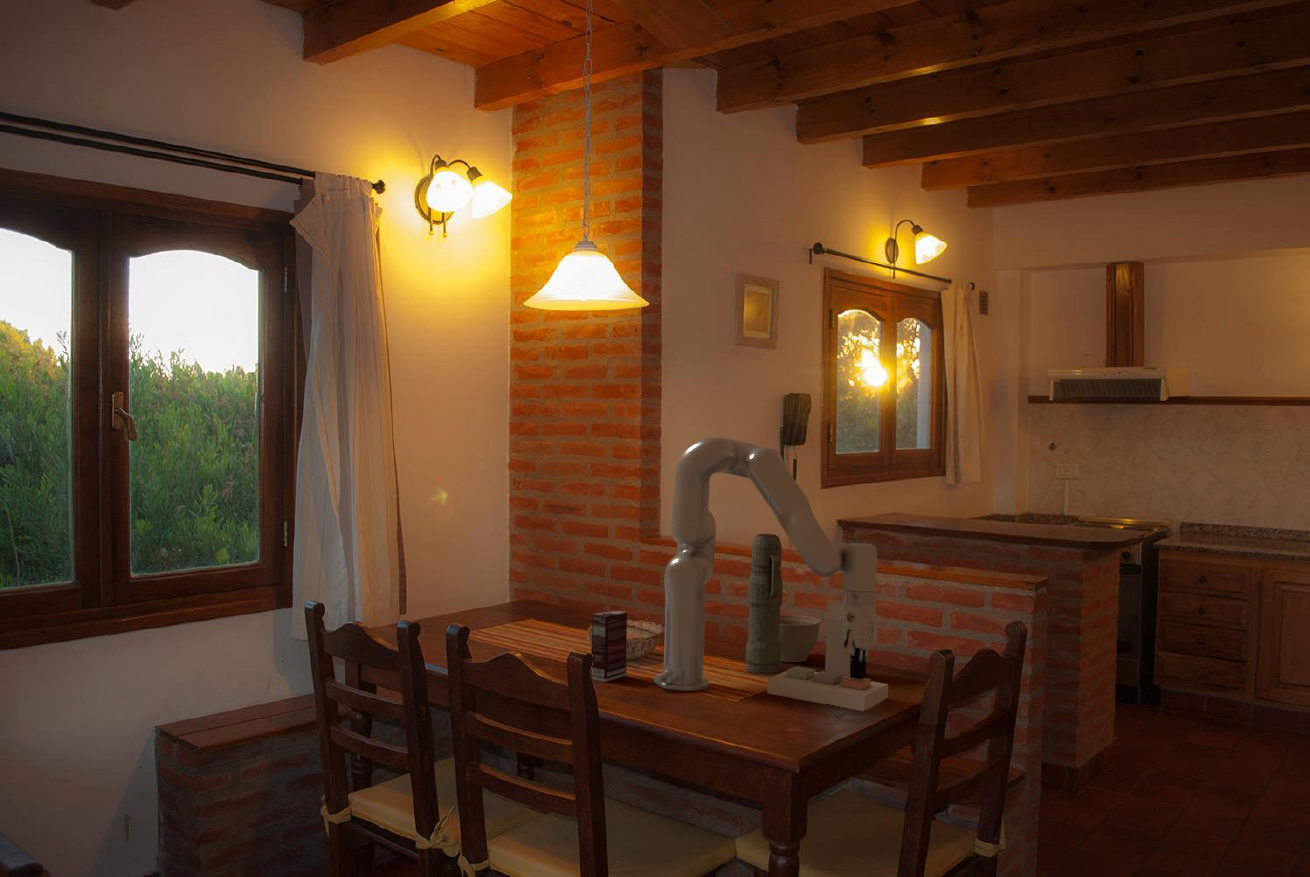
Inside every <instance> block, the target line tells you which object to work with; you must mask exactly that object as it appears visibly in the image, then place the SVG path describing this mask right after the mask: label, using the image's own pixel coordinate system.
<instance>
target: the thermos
mask: <svg viewBox="0 0 1310 877" xmlns="http://www.w3.org/2000/svg"><path fill="white" fill-rule="evenodd" d="M752 542H753V543H752V545H751V572H750V577H749V579H748V586H747V588H748V589H747V590H748V591H747V602H748V606H749V610H748V611H749V612H748V637H747V638H748V639H747V642H746V645H745V663H746V667H745V671H746V670H747V671H749V672H751V673H750V674H752V673H754V674H753V675H758V674H762V675H761V676H772V675H771V674H775V675H777V674H776V673H778V674H780V670H781V669H780V664H781V662H782V661H781V644H780V641H779V628H780V615H781V606H782V605H783V590H784V587H783V586H784V582H783V579H782V575H781V574H782V571H781V566H782V549H783V548H782V543H781V539H780V537H779V536H778V535H777V534H773V533H758V534H757V535H755V536H754V539H753V541H752ZM747 671H746V672H747ZM749 672H748V673H749Z"/></svg>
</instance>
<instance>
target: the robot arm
mask: <svg viewBox="0 0 1310 877" xmlns="http://www.w3.org/2000/svg"><path fill="white" fill-rule="evenodd" d="M717 473H718V474H719V473H720V474H721V473H723V474H728V475H732V476H737V477H740V478H746V479H749V480H750V481H751V483H752V485H754V487H755V488H756V490H757V491H758V492H759V495H760V496H761V497H762V498H763V500H764V501H765V503H766V504H767V506H768V507H769V509H770V510H771V512H772V513H773V514H774V516H775V518H776V519H777V521H778V523H779V525H780V526H781V528H782V529H783V531H784V532H785V533H786V536H787V537H788V539H789V541H790V542H791V544H792V545H793V547H794V549H795V550H796V552H797V553H798V554H799V555H800V557H801V559H802V560H803V561H804V563H805V564H806V566H807V567H808V568H809V570H810V571H811V572H812V573H813V574H815V575H817V576H819V577H822V578H828V577H832V576H833V575H835V574H836V573H837V572H839V573H841V572H842V573H843V574H842V601H843V604H845V607H844V616H843V629H842V643H843V646H844V647H845V648H847V655H850V677H851V678H856V679H864V678H866V677H867V659H868V650H870V649H871V648H872V647H874V646H876V644H877V643H878V623H877V622H878V620H877V619H878V618H877V609H876V608H877V607H876V606H877V577H878V575H877V572H878V568H877V566H878V549H877V547H876V546H875V545H874V544H871V543H866V542H865V543H863V542H861V543H860V542H852V543H846V542H840V541H835V540H830V539H829V537H828V536H827V534H826V533H825V531H824V530H823V529H822V527H821V525H820V524H819V522H818V520H817V518H816V517H815V515H814V512H813V510H812V506H811V504H810V501H809V499H808V497H807V495H806V494H805V492H804V491H803V490H802V488H801V487H800V486H799V484H798V483H797V481H796V479H795V478H794V477H793V476H792V474H791V472H790V471H789V470H788V468H787V467H786V466H785V462H784V458H783V456H782V455H781V453H780V452H779V451H778V450H776V449H775V448H774V447H773V448H772V447H770V446H769V447H768V446H763V445H762V446H761V445H758V444H752V443H748V442H743V441H739V440H735V439H730V438H726V437H718V436H713V437H712V436H710V437H706V438H703V439H701V440H698V441H696V442H694V443H693V444H692V445H690V446H689V447H688V448H686V449H685V450H684V451H683V453H682V455H680V458H679V460H678V461H677V464H676V469H675V474H674V476H675V477H674V486H673V487H674V489H673V498H672V511H671V512H672V514H671V523H670V532H671V536H672V538H673V540H674V541H675V542H676V543H677V544H676V547H677V548H676V555H674V556H673V557H672V558H671V559H670V560H669V561H668V562H667V566H666V567H665V571H664V575H663V576H664V579H663V580H664V581H663V583H664V594H665V596H664V598H665V601H664V604H665V607H664V608H665V609H664V613H665V614H664V648H663V649H664V650H663V666H662V669H661V670H662V672H661V673H658V674H656V675H654V677H653V681H654V683H656V685H657V686H658V687H660V688H663V689H667V690H669V691H670V690H671V691H678V692H694V691H695V692H696V691H701V690H705V689H708V688H709V687H710V680H709V679H708V678H706V677H704V663H705V662H704V661H705V660H704V657H705V656H704V655H705V630H706V629H705V628H706V595H705V593H706V590H705V587H706V586H705V585H706V584H708V582H709V581H710V580H711V578H712V576H713V573H714V566H715V553H716V552H715V550H716V536H717V535H716V534H717V524H716V520H715V517H714V515H713V514H712V512H711V511H710V510H709V501H710V482H711V477H712V475H714V474H717ZM854 646H855V647H854Z"/></svg>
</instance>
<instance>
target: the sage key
mask: <svg viewBox="0 0 1310 877" xmlns="http://www.w3.org/2000/svg"><path fill="white" fill-rule="evenodd" d="M785 672H786V677H788V678H794V679H799V680H805V681H807V680H810V679H812V678H813V676H814V674H815V672H816V669H813V668H809V667H808V668H807V667H802V666H796V665H795V666H793V667H790V668H787V669H786V670H785Z"/></svg>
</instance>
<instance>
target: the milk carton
mask: <svg viewBox="0 0 1310 877" xmlns="http://www.w3.org/2000/svg"><path fill="white" fill-rule="evenodd" d="M844 607H845V604H843V600H836V599H835V600H833V599H832V600H831V599H828V600H827V607H826V608H827V609H826V610H827V611H826V612H827V613H826V633H825V634H826V635H825V638H826V639H825V659H824V660H825V661H824V663H825V664H824V665H825V666H824V667H825V669H824V671H826V672H832V673H838V674H842V676H846V677H848V676H850V655H847V648H845V647H844V646H843V643H842V629H843V616H844ZM854 647H855V646H854Z"/></svg>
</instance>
